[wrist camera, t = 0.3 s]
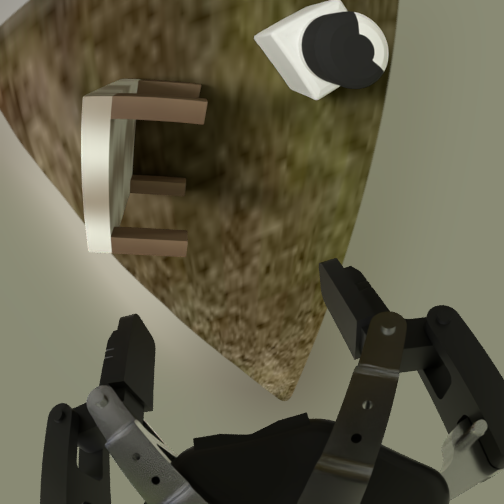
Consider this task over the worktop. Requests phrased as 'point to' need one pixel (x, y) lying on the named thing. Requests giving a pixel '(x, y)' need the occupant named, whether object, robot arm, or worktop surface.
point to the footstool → (130, 161)
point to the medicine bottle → (325, 49)
